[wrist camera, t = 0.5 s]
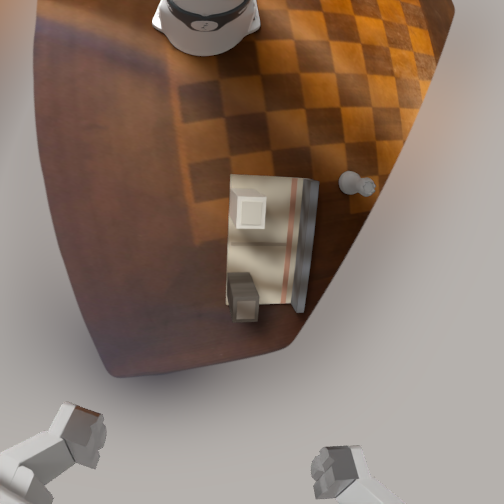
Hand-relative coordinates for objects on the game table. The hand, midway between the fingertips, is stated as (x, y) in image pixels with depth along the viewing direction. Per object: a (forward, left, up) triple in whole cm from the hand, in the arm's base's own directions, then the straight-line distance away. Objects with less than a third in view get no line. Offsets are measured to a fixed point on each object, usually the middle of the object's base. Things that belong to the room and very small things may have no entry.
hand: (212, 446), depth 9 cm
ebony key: (+13, +7, -44) cm, 46 cm away
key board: (+6, +12, -45) cm, 47 cm away
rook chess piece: (-6, +27, -45) cm, 53 cm away
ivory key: (-2, +7, -44) cm, 45 cm away
